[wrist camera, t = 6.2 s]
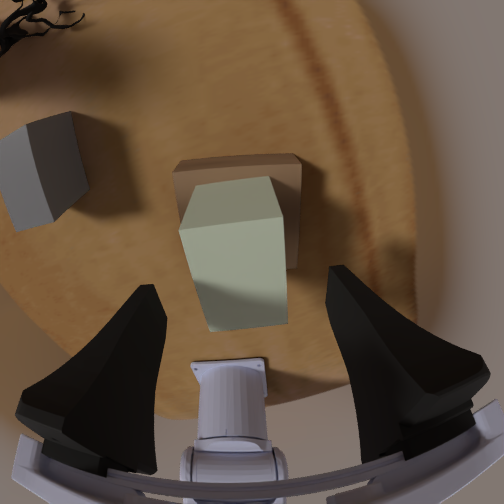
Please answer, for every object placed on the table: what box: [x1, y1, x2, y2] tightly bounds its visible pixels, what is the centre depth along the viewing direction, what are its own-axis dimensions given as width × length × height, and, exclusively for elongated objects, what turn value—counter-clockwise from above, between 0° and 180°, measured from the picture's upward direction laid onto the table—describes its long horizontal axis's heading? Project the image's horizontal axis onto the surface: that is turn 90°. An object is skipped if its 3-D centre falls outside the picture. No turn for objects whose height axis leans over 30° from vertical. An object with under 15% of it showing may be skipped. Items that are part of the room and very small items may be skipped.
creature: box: [0, 0, 85, 57], centre depth 6 cm, size 8×5×8 cm
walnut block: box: [172, 153, 302, 272], centre depth 17 cm, size 7×7×3 cm
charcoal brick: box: [0, 111, 90, 232], centre depth 13 cm, size 6×4×5 cm, turn 5°
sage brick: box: [179, 176, 288, 332], centre depth 14 cm, size 6×4×5 cm, turn 6°
